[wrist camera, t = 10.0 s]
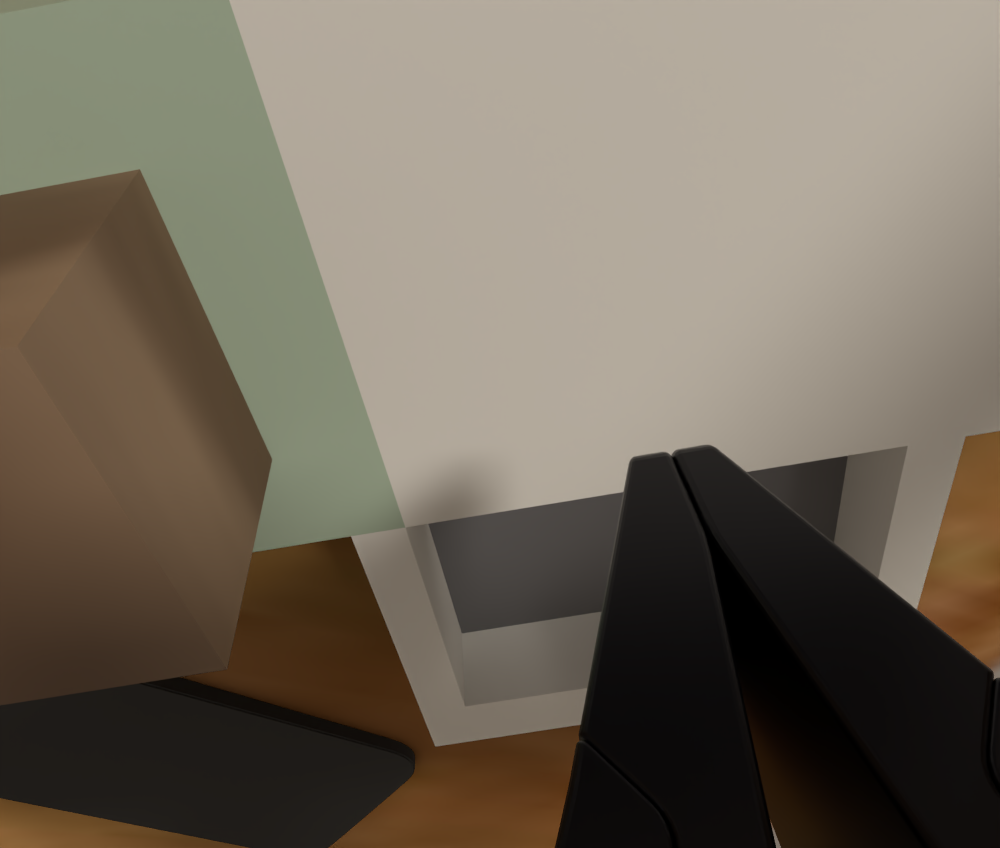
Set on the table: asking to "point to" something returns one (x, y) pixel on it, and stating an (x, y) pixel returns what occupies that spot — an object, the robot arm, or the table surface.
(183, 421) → the walnut block
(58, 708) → the phone
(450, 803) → the table surface
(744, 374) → the box
